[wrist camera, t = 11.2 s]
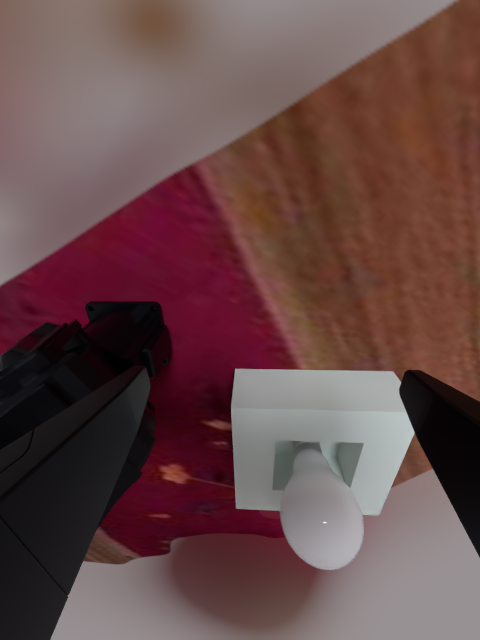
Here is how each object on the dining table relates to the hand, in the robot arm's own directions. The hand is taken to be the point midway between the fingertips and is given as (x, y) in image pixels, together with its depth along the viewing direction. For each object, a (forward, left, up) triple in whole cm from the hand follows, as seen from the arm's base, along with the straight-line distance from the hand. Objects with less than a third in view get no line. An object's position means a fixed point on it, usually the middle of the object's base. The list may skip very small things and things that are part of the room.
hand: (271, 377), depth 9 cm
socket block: (+5, -17, -13) cm, 22 cm away
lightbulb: (+5, -17, -12) cm, 22 cm away
